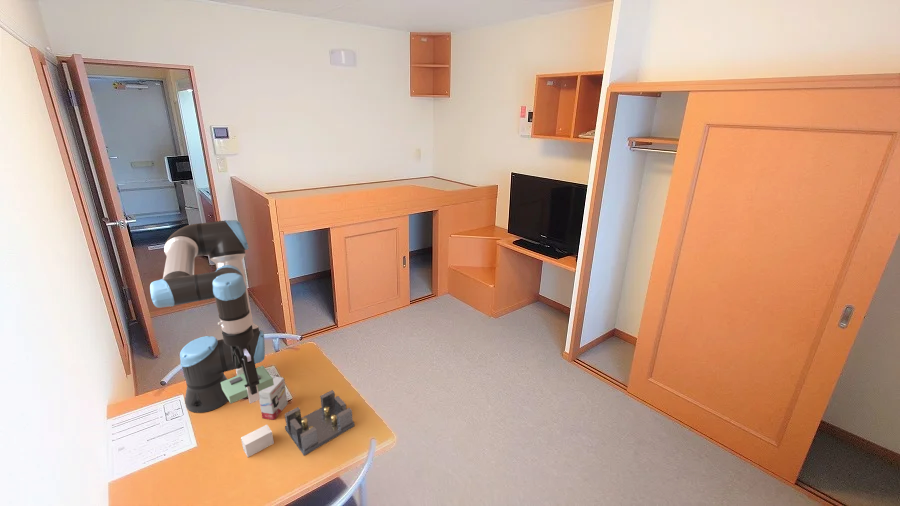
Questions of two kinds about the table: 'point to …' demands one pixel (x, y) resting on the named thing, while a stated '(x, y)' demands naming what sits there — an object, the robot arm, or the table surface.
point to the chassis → (319, 423)
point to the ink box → (273, 399)
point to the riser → (257, 440)
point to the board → (236, 387)
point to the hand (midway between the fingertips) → (249, 393)
